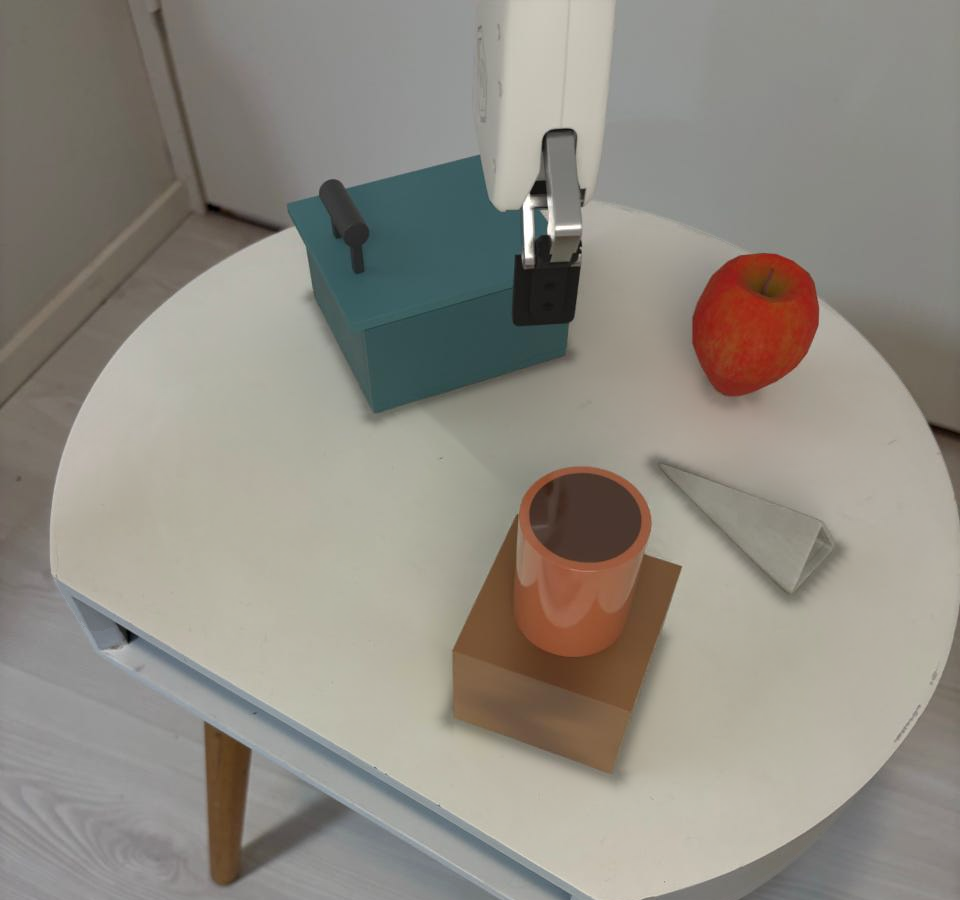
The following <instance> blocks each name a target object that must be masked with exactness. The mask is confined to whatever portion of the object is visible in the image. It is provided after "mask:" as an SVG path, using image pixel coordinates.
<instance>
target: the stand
mask: <svg viewBox="0 0 960 900" xmlns="http://www.w3.org/2000/svg"><path fill="white" fill-rule="evenodd" d="M518 518H519V513H516V514H515V517H514V518H513V521H512V523H511V525H510V527H509V529H508V532H507V533H506V536H505V538H504V539H503V542H502V544H501V546H500V549H499V551H498V553H497V555H496V557H495V558H494V560H493V563H492V565H491V566H490V567H491V568H490V570H489V572H488V574H487V576H486V578H485V581H484V582H483V585H482V587H481V588H480V591H479V593H478V595H477V597H476V599H475V601H474V604H473V606H472V608H471V610H470V612H469V614H468V616H467V618H466V620H465V622H464V625H463V627H462V629H461V630H460V633H459V635H458V637H457V638H456V639H457V640H456V641H455V644H454V645H453V648H452V650H451V659H452V660H451V661H452V663H451V664H452V699H453V703H452V704H453V718H455V719H457V720H459V721H462V722H465V723H468V724H471V725H473V726H476V727H479V728H481V729H485V730H488V731H491V732H493V733H495V734H499V735H502V736H504V737H507V738H510V739H513V740H515V741H517V742H521V743H524V744H527V745H530V746H532V747H535V748H538V749H541V750H543V751H546V752H549V753H551V754H555V755H557V756H559V757H563V758H565V759H569V760H571V761H574V762H576V763H579V764H582V765H585V766H588V767H590V768H593V769H597V770H599V771H601V772H604V773H607V774H611V775H612V774H613V772H614V769H615V766H616V763H617V760H618V757H619V755H620V752H621V749H622V745H623V744H624V743H623V742H624V740H625V737H626V735H627V732H628V729H629V726H630V724H631V720H632V717H633V715H634V711H635V709H636V706H637V703H638V700H639V698H640V694H641V692H642V688H643V686H644V683H645V680H646V677H647V674H648V672H649V669H650V666H651V664H652V660H653V657H654V654H655V652H656V649H657V646H658V643H659V641H660V637H661V634H662V631H663V628H664V626H665V623H666V619H667V616H668V612H669V609H670V606H671V603H672V601H673V597H674V595H675V591H676V588H677V584H678V581H679V578H680V575H681V572H682V569H683V566H682V565H680V564H677V563H674V562H671V561H668V560H664V559H661V558H658V557H655V556H652V555H649V554H646V553H645V555H644V559H643V563H642V567H641V571H640V574H639V578H638V582H637V586H636V590H635V594H634V597H633V601H632V605H631V609H630V613H629V617H628V620H627V624H626V626H625V629H624V631H623V632H622V634H621V635H620V637H619V638H618V639H617V640H616V641H615V642H614V643H613V644H611V645H610V646H609V647H607V648H606V649H604V650H602V651H600V652H598V653H595V654H592V655H588V656H582V657H565V656H559V655H555V654H552V653H549V652H547V651H544V650H542V649H540V648H539V647H537V646H536V645H534V644H533V643H531V642H530V641H529V640H528V639H527V638H526V637H525V636H524V635H523V633H522V632H521V631H520V629H519V627H518V626H517V624H516V621H515V619H514V615H513V609H512V601H513V587H514V573H515V559H516V546H517V532H518Z"/></svg>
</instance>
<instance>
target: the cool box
mask: <svg viewBox="0 0 960 900" xmlns="http://www.w3.org/2000/svg"><path fill="white" fill-rule="evenodd" d="M305 250H306V257H307V262H308V269H309V275H310V281H311V287H312V292H313V298H314V300H315V302H316V303H317V306H318V307H319V311H321V314H322V316H323V317H324V320H325V321H326V324H327V325H328V328H329V329H330V331H331V333H332V336H333V337H334V339H335V341H336V343H337V346H338V347H339V349H340V351H341V353H342V354H343V356H344V359H345V360H346V362H347V364H348V367H349V368H350V370H351V372H352V374H353V376H354V378H355V380H356V382H357V383H358V386H359V387H360V390H361V391H362V393H363V395H364V397H365V399H366V401H367V403H368V405H369V408H370V410H371V411H372V413H373V414H379V413H382V412H384V411H388V410H391V409H395V408H398V407H401V406H404V405H407V404H411V403H414V402H418V401H421V400H424V399H426V398H427V399H428V398H430V397H433V396H437V395H440V394H444V393H446V392H450V391H453V390H457V389H459V388H463V387H466V386H470V385H473V384H475V383H476V384H477V383H480V382H483V381H486V380H488V379H492V378H496V377H498V376H499V377H500V376H502V375H505V374H508V373H511V372H515V371H518V370H521V369H525V368H528V367H532V366H534V365H538V364H540V363H545V362H547V361H550V360H553V359H556V358H560V357H563V356H564V357H565V356H566V354H567V353H566V352H567V346H568V335H569V327H570V323H566V324H550V325H535V326H516V325H514V324H513V320H512V314H511V313H512V296H513V287H512V288H509V289H505V290H502V291H498V292H495V293H491V294H488V295H484V296H481V297H477V298H474V299H470V300H467V301H464V302H460V303H457V304H453V305H450V306H446V307H443V308H439V309H436V310H432V311H429V312H425V313H422V314H418V315H415V316H411V317H408V318H404V319H401V320H398V321H394V322H391V323H387V324H384V325H380V326H377V327H373V328H370V329H366V330H363V331H359V332H356V333H351V331H350V329H349V327H348V326H347V324H346V322H345V320H344V318H343V316H342V314H341V312H340V310H339V309H338V307H337V305H336V303H335V301H334V299H333V297H332V295H331V293H330V291H329V290H328V288H327V286H326V284H325V282H324V280H323V278H322V276H321V274H320V272H319V271H318V269H317V267H316V265H315V263H314V261H313V259H312V257H311V255H310V253H309V252H308V250H307V248H306V247H305Z"/></svg>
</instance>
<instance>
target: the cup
mask: <svg viewBox="0 0 960 900" xmlns="http://www.w3.org/2000/svg"><path fill="white" fill-rule="evenodd" d="M646 500H647V499H645V497H644V495H643V494H642V493H641V492H640V490H639V489H638V488H637V487H636V486H635V485H634V484H633V483H632V482H630V480H627V479H626V478H625V477H623V476H621V475H619V474H617V473H615V472H612V471H611V470H607V469H604V468H600V467H594V466H585V465H584V466H583V465H581V466H580V465H579V466H577V465H576V466H570V467H563V468H559V469H555V470H553V471H551V472H549V473H546V474H545V475H543V476H541V477H540V478H539V479H537V480H536V481H535V482H534V483H532V484H531V486H530V487H528V489H527V490H526V491H525V493H524V495H523V497H522V499H521V502H520V504H519V509H518V514H519V518H518V532H517V546H516V559H515V573H514V587H513V601H512V609H513V615H514V619H515V621H516V624H517V626H518V627H519V629H520V631H521V632H522V633H523V635H524V636H525V637H526V638H527V639H528V640H529V641H530V642H531V643H533V644H534V645H536V646H537V647H539V648H540V649H542V650H544V651H547V652H549V653H552V654H555V655H559V656H565V657H582V656H588V655H592V654H595V653H598V652H600V651H602V650H604V649H606V648H607V647H609V646H610V645H611V644H613V643H614V642H615V641H616V640H617V639H618V638H619V637H620V635H621V634H622V632H623V631H624V629H625V626H626V624H627V620H628V617H629V613H630V609H631V605H632V601H633V597H634V594H635V590H636V586H637V582H638V578H639V574H640V571H641V567H642V563H643V559H644V555H645V554H646V551H647V548H648V544H649V540H650V537H651V533H652V526H653V525H652V524H653V523H652V522H653V521H652V513H651V509H650V507H649V504H648V502H647V501H646Z"/></svg>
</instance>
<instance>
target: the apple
mask: <svg viewBox="0 0 960 900" xmlns="http://www.w3.org/2000/svg"><path fill="white" fill-rule="evenodd" d="M819 326H820V305H819V299H818V292H817V288H816V283H815V281H814V279H813V277H812V275H811V274H810V273H809V271H807V270H806V269H805V268H804V267H802V266H801V265H799V264H798V263H797V262H796V261H795V260H792V259H790V258H787V257H785V256H783V255H780V254H779V253H770V252H757V253H749V254H740V255H738V256H735V257H733V258H731V259H729V260H726V262H725V263H723V265H721V266H720V267H719V268H718V269H717V270H715V272H714V273H712V275H711V276H710V278H709V280H708V281H707V283H706V285H705V287H704V288H703V291H702V292H701V294H700V296H699V298H698V300H697V302H696V305H695V308H694V311H693V314H692V317H691V344H692V347H693V349H694V353H695V355H696V358H697V360H698V362H699V365H700V367H701V370H702V371H703V372H704V374H705V376H706V378H707V379H708V380H709V382H710V384H711V385H712V386H713V387H714V390H716V392H717V393H719V394H722V395H724V396H727V397H741V396H745V395H749V394H752V393H755V392H757V391H759V390H761V389H763V388H765V387H768V386H771V385H772V384H775V383H776V382H779V380H781V379H783V378H784V377H786V376H787V375H789V374H790V373H791V372H792V371H793V370H795V369H796V368H797V367H798V366H799V365H800V363H801V362H802V361H803V359H804V358H805V357H806V356H807V355H808V353H809V351H810V348H811V346H812V343H813V341H814V339H815V336H816V333H817V331H818V328H819Z"/></svg>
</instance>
